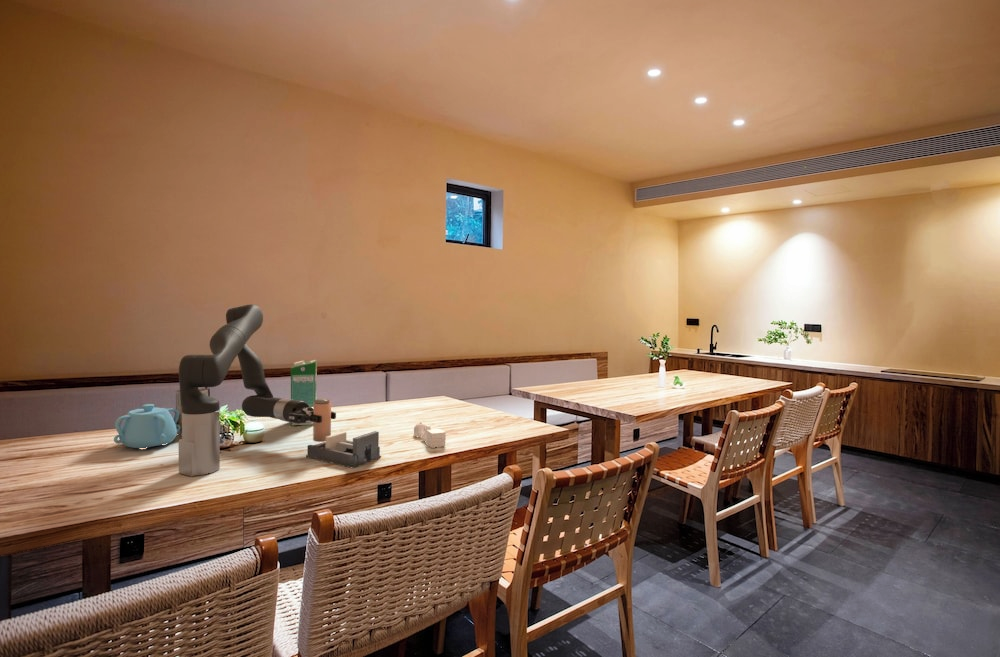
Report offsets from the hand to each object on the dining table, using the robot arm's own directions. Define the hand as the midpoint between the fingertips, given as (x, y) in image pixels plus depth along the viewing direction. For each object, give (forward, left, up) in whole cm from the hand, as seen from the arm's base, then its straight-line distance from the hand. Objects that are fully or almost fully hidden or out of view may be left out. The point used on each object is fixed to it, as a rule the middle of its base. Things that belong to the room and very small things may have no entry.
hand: (328, 417), depth 161 cm
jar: (0, +3, -7) cm, 8 cm away
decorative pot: (-24, +56, -12) cm, 62 cm away
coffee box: (-8, +58, -12) cm, 60 cm away
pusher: (0, -9, -11) cm, 14 cm away
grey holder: (0, -7, -12) cm, 14 cm away
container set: (+30, -18, -12) cm, 37 cm away
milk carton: (+24, +38, -12) cm, 47 cm away
